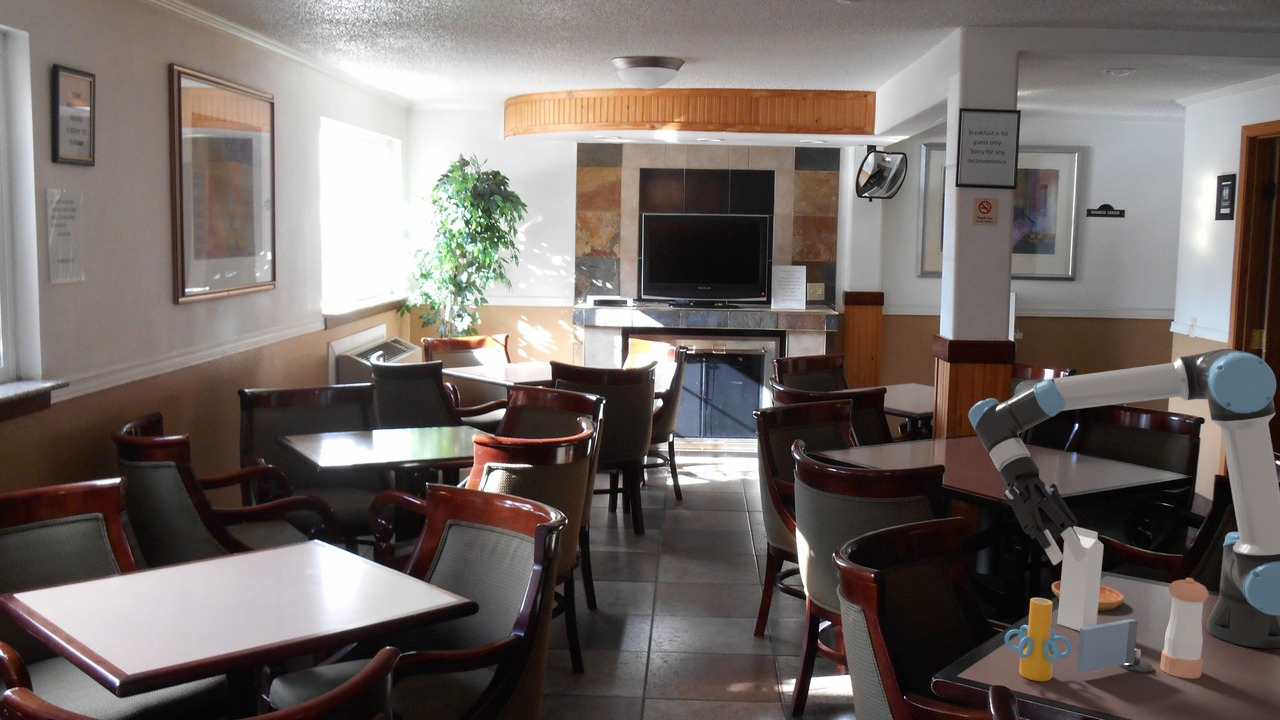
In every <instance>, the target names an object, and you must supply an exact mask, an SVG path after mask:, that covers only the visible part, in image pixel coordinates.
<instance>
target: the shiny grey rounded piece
mask: <svg viewBox="0 0 1280 720" xmlns="http://www.w3.org/2000/svg"><path fill="white" fill-rule="evenodd" d="M1141 653H1142V652H1141V649H1140V648H1136V647H1135V656H1134V662H1131V663H1127V664H1121V665H1119V666H1120V667H1121V668H1122V669H1124V670H1127V671H1129V672H1134V673H1139V674H1147V673H1148V674H1149V673H1151V672H1153V665H1152V664H1151V663H1150V662H1149V661H1146V660H1144V659H1142V658H1141Z"/></svg>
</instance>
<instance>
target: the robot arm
mask: <svg viewBox="0 0 1280 720" xmlns="http://www.w3.org/2000/svg"><path fill="white" fill-rule="evenodd" d="M1276 380H1277V379H1276V376H1275V374H1274V372H1273V370H1272V368H1271V367H1270V366H1269V364H1267V363H1266V361H1265V360H1264V359H1262V358H1261V357H1259V356H1258V355H1256V354H1253V353H1251V352H1245V351H1241V350H1238V349H1234V348H1233V349H1232V348H1220V349H1215V350H1211V351H1206V352H1202V353H1197V354H1191V355H1186V356H1177V357H1176V358H1175V360H1174V361H1173V362H1170V363H1161V364H1154V365H1145V366H1139V367H1138V366H1137V367H1131V368H1130V367H1129V368H1125V369H1117V370H1116V369H1115V370H1114V369H1113V370H1108V371H1102V372H1101V371H1100V372H1094V373H1093V372H1092V373H1086V374H1078V375H1077V374H1076V375H1070V376H1063V377H1062V376H1061V377H1056V378H1049V379H1048V378H1047V379H1040V380H1037V379H1029V380H1028V379H1026V380H1024V381H1022V382H1020V383H1019V384H1017V385H1016V387H1015V389H1014V392H1013V397H1011V398H1009V399H1008V400H1005V401H1003V402H999V401H998V399H997V398H992V397H991V398H986V399H985V400H980V401H978V402H976V403H975V404H974V405H973V406H971V408H970V410H969V411H968V419H969V421H970V423H971V426H972V427H973V430H974V432H975V434H976V436H977V437H978V439H979V440H980V442H981V444H982V445H983V447H984V449H985V450H986V452H987V454H988V456H989V457H990V458H991V460H992V462H993V464H994V466H995V469H997V471H999V476H1000V478H1001V479H1002V480H1003V482H1004V485H1006V487H1007V488H1008V489H1007V490H1006V491H1005V492H1003V494H1002V496H1003V497H1004V498H1005V499H1006V500H1007V502H1008V504H1009V505H1010V507H1011V509H1012V510H1013V512H1014V515H1015V516H1016V518H1017V521H1018V522H1019V524H1020V526H1021V528H1022V530H1023V532H1024V534H1026V535H1029V537H1030V538H1031V539H1034V538H1036V540H1037V541H1038V543H1039V544H1040V546H1041V548H1042V549H1043V550H1044V551H1045V553H1046V555H1047V556H1048V558H1049V560H1050V561H1051V564H1052V565H1053V566H1056V565H1058V564H1059V563H1060V562H1061V561H1063V559H1064V556H1063V552H1061V551H1062V550H1061V549H1060V548H1059V546H1058V545H1057V543H1056V541H1055V540H1054V538H1053V535H1052V534H1051V532H1050V531H1049V529H1045V528H1044V525H1043V522H1042V518H1041V515H1040V511H1039V508H1040V509H1042V510H1043V511H1044V512H1045V513H1046V515H1047V516H1048V517H1049V518H1050V519H1051V521H1052V522H1054V524H1055V525H1056V526H1057V527H1058V528H1059V529H1060V531H1061V533H1060V536H1061V537H1062V539H1063V541H1064V542H1065V543H1066V544H1067V546H1068V548H1069V549H1070V551H1071V553H1072V554H1073V556H1074V558H1075V560H1076V561H1077V562H1078V561H1080V560H1082V559H1083V558H1084V557H1086V556H1087V555H1088V554H1087V553H1086V551H1085V549H1084V548H1083V546H1082V544H1081V542H1080V539H1079V537H1078V536H1077V534H1076V532H1075V531H1074V529H1073V527H1074V526H1075V527H1076V525H1077V524H1079V522H1078V519H1077V517H1076V516H1075V515H1074V513H1073V512H1072V510H1071V509H1070V508H1069V506H1068V505H1067V502H1066V501H1065V500H1064V498H1063V497H1062V496H1061V494H1060V492H1059V489H1058V486H1057V485H1056V484H1055V483H1052V484H1050V485H1049V484H1046V483H1045V482H1044V481H1043V480H1042V479H1041V478H1040V468H1039V467H1038V465H1037V463H1036V462H1035V461H1034V458H1033V457H1031V453H1030V451H1029V450H1028V448H1027V446H1026V445H1025V444H1024V442H1023V440H1022V439H1021V437H1020V436H1019V434H1020V433H1023V432H1025V431H1026V430H1028V429H1030V428H1032V427H1034V426H1036V425H1038V424H1040V423H1041V422H1044V421H1046V420H1048V419H1050V418H1051V417H1055V416H1056V415H1057V414H1059V413H1060V412H1062V411H1070V410H1077V409H1078V410H1079V409H1085V408H1086V409H1087V408H1088V409H1089V408H1095V407H1102V406H1103V407H1104V406H1112V405H1121V404H1129V403H1136V402H1137V403H1138V402H1145V401H1152V400H1153V401H1154V400H1163V399H1171V398H1178V397H1179V398H1180V399H1182V400H1184V401H1193V400H1206V401H1207V403H1208V408H1209V415H1210V420H1211V422H1212V423H1214V424H1216V425H1217V426H1218V427H1220V430H1221V435H1222V442H1223V443H1222V444H1223V448H1224V454H1225V459H1226V460H1225V461H1226V465H1227V471H1228V479H1229V483H1230V489H1231V490H1230V491H1231V496H1232V503H1233V506H1234V512H1235V513H1234V515H1235V518H1236V519H1235V520H1236V525H1237V531H1231V532H1228V533H1227V534H1226V535H1225V538H1224V543H1223V545H1222V546H1223V553H1222V563H1221V572H1220V581H1219V582H1220V584H1219V592H1218V593H1219V594H1218V598H1217V600H1216V602H1215V603H1214V606H1213V608H1212V609H1211V612H1210V614H1209V616H1208V618H1207V622H1206V630H1207V632H1208V633H1209V634H1210V635H1212V636H1214V637H1215V638H1217V639H1221V640H1223V641H1226V642H1228V643H1231V644H1234V645H1235V644H1236V645H1239V646H1244V647H1250V648H1255V649H1256V648H1258V649H1279V648H1280V486H1279V479H1278V474H1277V473H1278V472H1277V467H1276V462H1275V455H1274V450H1273V449H1274V448H1273V443H1272V438H1271V437H1272V436H1271V433H1270V432H1271V431H1270V426H1269V423H1270V421H1271V420H1272V419H1273V418H1274V416H1275V415H1276V410H1275V403H1274V396H1275V394H1276V391H1277V390H1276V389H1277V381H1276Z"/></svg>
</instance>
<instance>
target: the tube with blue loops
mask: <svg viewBox="0 0 1280 720" xmlns="http://www.w3.org/2000/svg"><path fill="white" fill-rule="evenodd" d="M1029 600H1030V601H1029V612H1028V625H1027V624H1023V625H1021V626H1020V628H1019V629H1016V628H1015V629H1010V630H1009V631H1007V632H1006V634H1005V636H1004V643H1005V645H1006V646H1007V648H1009V650H1012V651H1015V652H1018V655H1019V668H1018V672H1019V675H1020V676H1021V677H1023V678H1024V679H1027V680H1031V681H1035V682H1048V681H1050V680H1052V678H1053V668H1054V667H1053V665H1054V663H1055V662H1057V661H1058V658H1061V659H1062V658H1066V657H1068V656H1069V655H1070V654H1071V653H1072V650H1073V649H1072V648H1073V647H1072V642H1071V641H1070V640H1069V639H1068V638H1067V637H1065V636H1062V635H1057V634H1056V630H1054V629H1053V628H1051V625H1052V617H1053V616H1052V615H1053V601H1052V600H1050V599H1047V598H1043V597H1032V598H1030V599H1029ZM1025 630H1026V631H1027V633H1025ZM1014 634H1016V635H1017V634H1018V637H1019V643H1018V644H1019V645H1018V646H1015V645H1012V644H1011V643H1010V637H1011V636H1012V635H1014ZM1026 634H1027V635H1026ZM1050 637H1051V638H1050ZM1056 641H1063V642H1064V643H1065V644H1066V646H1067V649H1066V651H1065V652H1062V653H1060V652H1059V648H1058V645H1057V643H1056Z"/></svg>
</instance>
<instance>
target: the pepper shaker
mask: <svg viewBox="0 0 1280 720" xmlns="http://www.w3.org/2000/svg"><path fill="white" fill-rule="evenodd" d="M1168 592H1169V595H1170V596H1171V597H1172V598H1171V607H1170V614H1169V615H1170V617H1169V620H1168V623H1167V627H1166V630H1165V633H1164V634H1165V635H1164V647H1163V649H1162V651H1161V657H1160V670H1162V671H1163V672H1164V673H1166V674H1168V675H1171V676H1174V677H1177V678H1180V679H1181V678H1182V679H1190V680H1191V679H1192V680H1194V679H1199V678H1201V676H1202V669H1203V662H1204V660H1203V656H1202V650H1203V642H1204V637H1203V627H1202V624H1203V623H1202V619H1203V607H1204V602H1206V600H1207V599H1208V598H1209V595H1210V594H1209V591H1208V589H1207V588H1206V586H1205V585H1203V584H1202V583H1200V582H1197V581H1196V580H1195V579H1194V578H1191V577H1186V578H1185V579H1178V580H1177V579H1176V580H1174V581H1172V582H1171V583H1170V585H1169V586H1168Z"/></svg>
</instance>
